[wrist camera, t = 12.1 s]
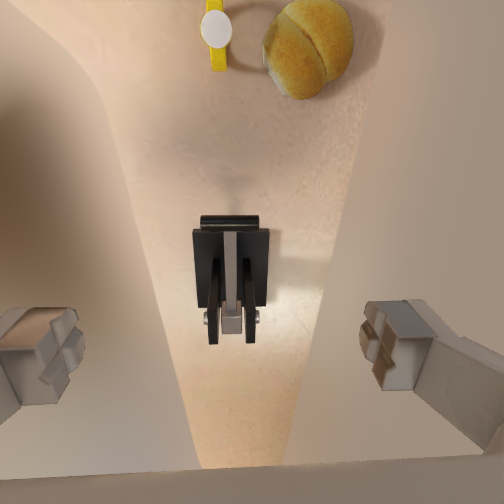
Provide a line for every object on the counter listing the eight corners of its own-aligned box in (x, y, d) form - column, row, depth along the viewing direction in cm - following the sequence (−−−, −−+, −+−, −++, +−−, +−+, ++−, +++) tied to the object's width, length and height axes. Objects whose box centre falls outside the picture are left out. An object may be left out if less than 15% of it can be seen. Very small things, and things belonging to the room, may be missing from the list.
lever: (201, 209, 27) (199, 223, 25) (257, 209, 28) (259, 223, 26) (210, 318, 36) (209, 335, 34) (253, 317, 36) (254, 333, 34)
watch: (201, 2, 30) (195, -19, 25) (230, 1, 30) (230, -19, 25) (207, 73, 33) (203, 68, 27) (233, 72, 33) (234, 67, 28)
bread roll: (360, 57, 33) (376, 52, 29) (290, 111, 35) (297, 113, 31) (322, -25, 30) (335, -41, 26) (247, 40, 32) (250, 33, 28)
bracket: (193, 229, 41) (178, 280, 29) (268, 228, 41) (282, 278, 30) (198, 303, 46) (188, 371, 35) (265, 301, 47) (276, 368, 35)
